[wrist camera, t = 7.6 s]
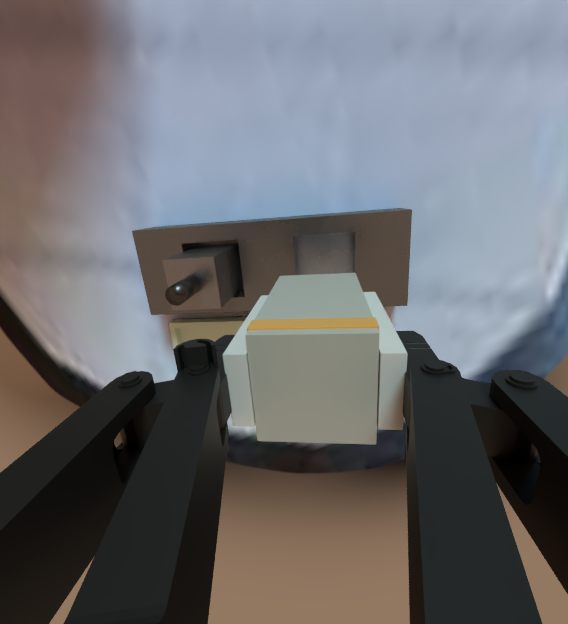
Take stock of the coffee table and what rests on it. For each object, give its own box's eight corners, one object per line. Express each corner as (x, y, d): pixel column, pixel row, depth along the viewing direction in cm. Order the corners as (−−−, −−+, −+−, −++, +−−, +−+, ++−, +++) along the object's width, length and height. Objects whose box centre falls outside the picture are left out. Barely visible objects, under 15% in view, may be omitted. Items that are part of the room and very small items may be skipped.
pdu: (169, 302, 35) (96, 351, 24) (154, 227, 33) (64, 242, 21) (397, 292, 32) (437, 344, 21) (400, 208, 29) (447, 214, 18)
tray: (189, 396, 39) (184, 402, 38) (173, 319, 36) (168, 323, 35) (303, 396, 37) (303, 402, 36) (298, 315, 34) (297, 319, 33)
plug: (284, 344, 19) (256, 442, 11) (278, 274, 17) (243, 333, 10) (356, 343, 18) (377, 445, 11) (356, 271, 17) (381, 331, 9)
